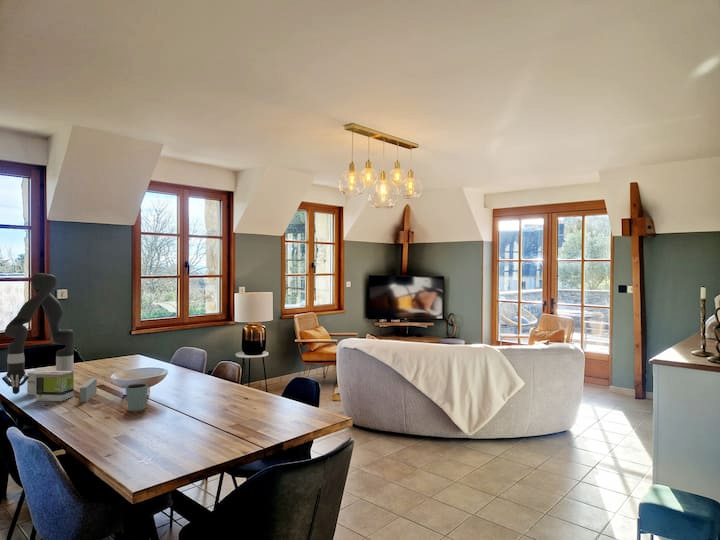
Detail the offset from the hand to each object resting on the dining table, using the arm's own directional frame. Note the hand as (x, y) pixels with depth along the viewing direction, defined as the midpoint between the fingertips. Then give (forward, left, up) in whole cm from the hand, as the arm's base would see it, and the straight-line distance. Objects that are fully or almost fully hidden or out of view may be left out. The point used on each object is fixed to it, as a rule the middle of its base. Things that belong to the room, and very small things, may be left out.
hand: (15, 393), depth 263 cm
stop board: (0, +35, -4) cm, 35 cm away
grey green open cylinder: (+30, +65, -4) cm, 71 cm away
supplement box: (-14, +6, -4) cm, 16 cm away
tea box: (0, +19, -4) cm, 19 cm away
